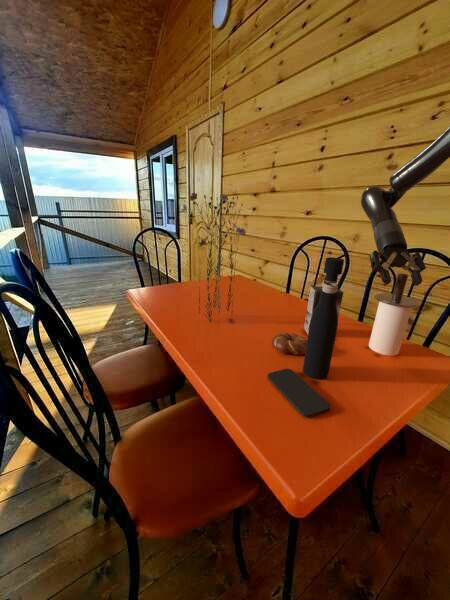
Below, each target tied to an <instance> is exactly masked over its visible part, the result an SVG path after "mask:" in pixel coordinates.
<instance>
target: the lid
mask: <svg viewBox="0 0 450 600" xmlns="http://www.w3.org/2000/svg"><path fill="white" fill-rule="evenodd" d="M396 276H397V277H396V280H395V284H394V288H393V292H392V293H386V292H385V293H384V292H383V293H382V292H381V293H376V294H375V295H374V299H375V300H376V301H378V302H379V301H380V302H382V303H385V304H389V305H393V306H398V307H408V308H412V309H413V308H418V307H419V306H420V302H419V301H418V300H417V299H415V298H413V297H409V296H407V295H404V293H405V289H406V285H407V282H408V277H409V274H407V273H401V272H400V273H397V275H396Z"/></svg>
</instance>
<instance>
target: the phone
mask: <svg viewBox="0 0 450 600" xmlns="http://www.w3.org/2000/svg"><path fill="white" fill-rule="evenodd" d="M267 379H268V380H269V381H270V382H271V383H272V384H273V386H274V387H275V388H276V389H277V390H278V391H279V392H280V393H281V395H283V396H284V397H285V399H286V400H287V401H288V402H289V403H290V404H291V405H292V406H293V407H294V408H295V409H296V410H297V411H298V413H299V414H300V415H301V416H303V418H312V417H315V416H317V415H320V414H323V413H325V412H329V411H330V410H331V406H332V405H331V404H330V402H328V401H327V400H326V399H325V398H324V397H323V396H322V395H320V393H319V392H317V391H316V390H315V389H314V388H313V387H312V386H311V385H309V384H308V383H307V382H306V381H305V380H304V379H303V378H302V377H301V376H299V374H297V373H296V372H295V371H294V370H293V369H291V368H283V369H280V370H276V371H272V372H268V373H267Z"/></svg>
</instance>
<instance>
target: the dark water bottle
mask: <svg viewBox="0 0 450 600" xmlns="http://www.w3.org/2000/svg"><path fill="white" fill-rule="evenodd" d="M344 264H345V259H343V258H340V257H326V258H325V260H324V267H323V273H324V274H325V279H324V281H325V282H324V283H323V284H322V287H323V288H322V289H323V290H321V293H320V299H319V302H318V304H317V306H316V308H315V310H314V312H313V314H312V317H311V320H310V325H309V332H308V334H307V339H306V340H307V345H306V351H305V354H304V358H303V366H302V372H303V373H304V375H305V376H307V377H308V378H311V379H313V380H320V381H321V380H325V379H327V378H328V377H329V372H330V368H331V364H332V363H331V362H332V357H333V354H334V353H333V351H334V347H335V344H336V343H335V342H336V338H337V332H338V326H339V317H338V313H337V307H336V300H337V294H338V293H337V292H336V291H337V289H339V286H338V284H337V283H338V279H339V276H340V275H342V274H343V268H344Z"/></svg>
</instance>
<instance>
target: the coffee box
mask: <svg viewBox="0 0 450 600" xmlns="http://www.w3.org/2000/svg"><path fill="white" fill-rule="evenodd" d="M322 288H323V286H316V285H315V286H313V285H310V288H309V296H308V301H307V307H306V308H307V309H306V312H305V313H306V314H305V320H304V324H303V329H304V330H305V332H306V334H307V335H308V332H309V325H310V320H311V317H312V314H313V312H314V310H315V308H316V306H317V304H318V302H319V299H320V293H321V290H323V289H322ZM336 292H337V293H338V294H337V300H336V307H337V313H338V318H339V317H340V312H341V306H342V303H343V297H344V292H343V290H341V289H339V288H337V291H336Z"/></svg>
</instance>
